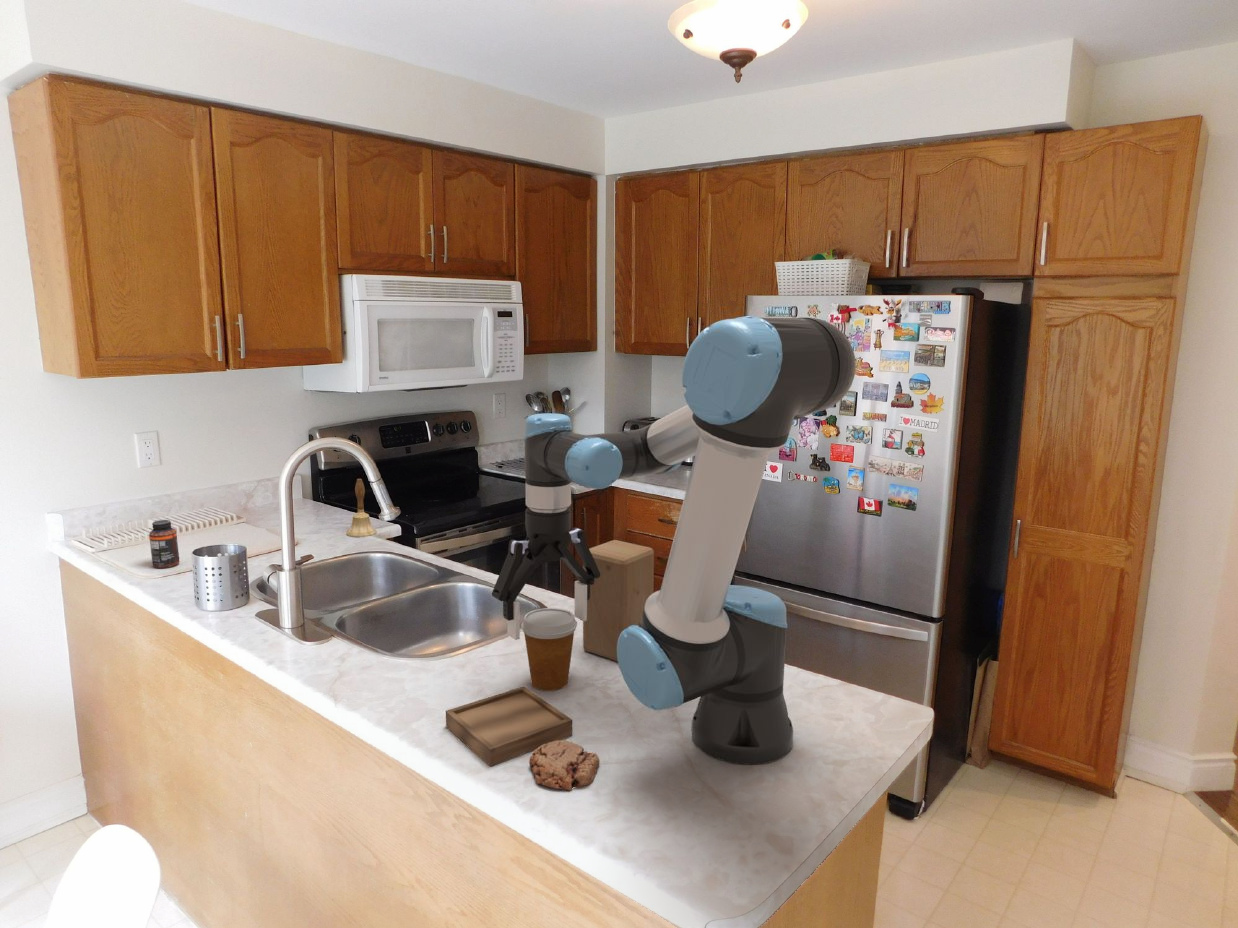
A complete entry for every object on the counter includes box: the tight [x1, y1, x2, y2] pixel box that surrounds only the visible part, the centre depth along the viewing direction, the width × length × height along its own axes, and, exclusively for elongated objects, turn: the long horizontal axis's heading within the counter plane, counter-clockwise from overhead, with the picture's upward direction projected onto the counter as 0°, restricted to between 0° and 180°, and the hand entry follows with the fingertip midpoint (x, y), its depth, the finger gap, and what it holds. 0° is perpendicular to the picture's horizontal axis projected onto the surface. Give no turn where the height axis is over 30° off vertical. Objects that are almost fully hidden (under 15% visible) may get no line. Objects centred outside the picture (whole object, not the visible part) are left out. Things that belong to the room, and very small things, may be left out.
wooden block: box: [582, 539, 655, 662], centre depth 153 cm, size 10×10×20 cm
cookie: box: [528, 740, 600, 791], centre depth 114 cm, size 10×11×3 cm
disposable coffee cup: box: [520, 607, 578, 692], centre depth 139 cm, size 10×10×12 cm
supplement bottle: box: [148, 519, 180, 569], centre depth 201 cm, size 6×6×11 cm
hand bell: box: [345, 478, 378, 538], centre depth 231 cm, size 8×8×16 cm
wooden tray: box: [445, 685, 573, 767], centre depth 124 cm, size 14×14×3 cm
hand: (548, 627), depth 139 cm, fingers open, 13 cm apart
